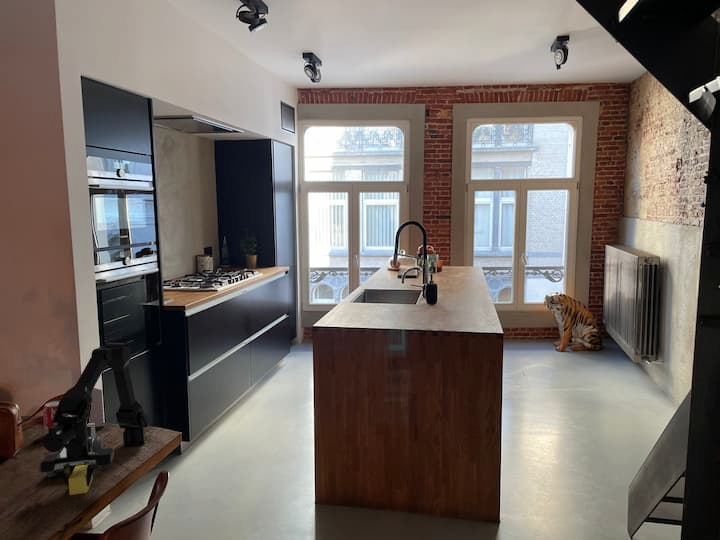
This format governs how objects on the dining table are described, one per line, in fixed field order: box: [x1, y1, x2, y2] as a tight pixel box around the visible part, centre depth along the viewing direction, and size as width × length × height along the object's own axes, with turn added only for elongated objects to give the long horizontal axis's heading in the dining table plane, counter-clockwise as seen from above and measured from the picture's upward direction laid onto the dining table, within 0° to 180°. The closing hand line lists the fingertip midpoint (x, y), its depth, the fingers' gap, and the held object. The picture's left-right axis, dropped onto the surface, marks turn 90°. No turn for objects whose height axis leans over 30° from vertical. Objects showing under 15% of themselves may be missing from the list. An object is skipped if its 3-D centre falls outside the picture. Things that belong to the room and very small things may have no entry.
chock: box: [68, 464, 94, 496], centre depth 154 cm, size 4×8×5 cm, turn 15°
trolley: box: [46, 423, 104, 478], centre depth 167 cm, size 18×12×10 cm
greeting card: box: [71, 387, 105, 427], centre depth 197 cm, size 11×7×15 cm, turn 61°
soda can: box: [42, 400, 67, 436], centre depth 191 cm, size 7×7×12 cm
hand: (79, 486), depth 152 cm, fingers closed on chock, 4 cm apart
